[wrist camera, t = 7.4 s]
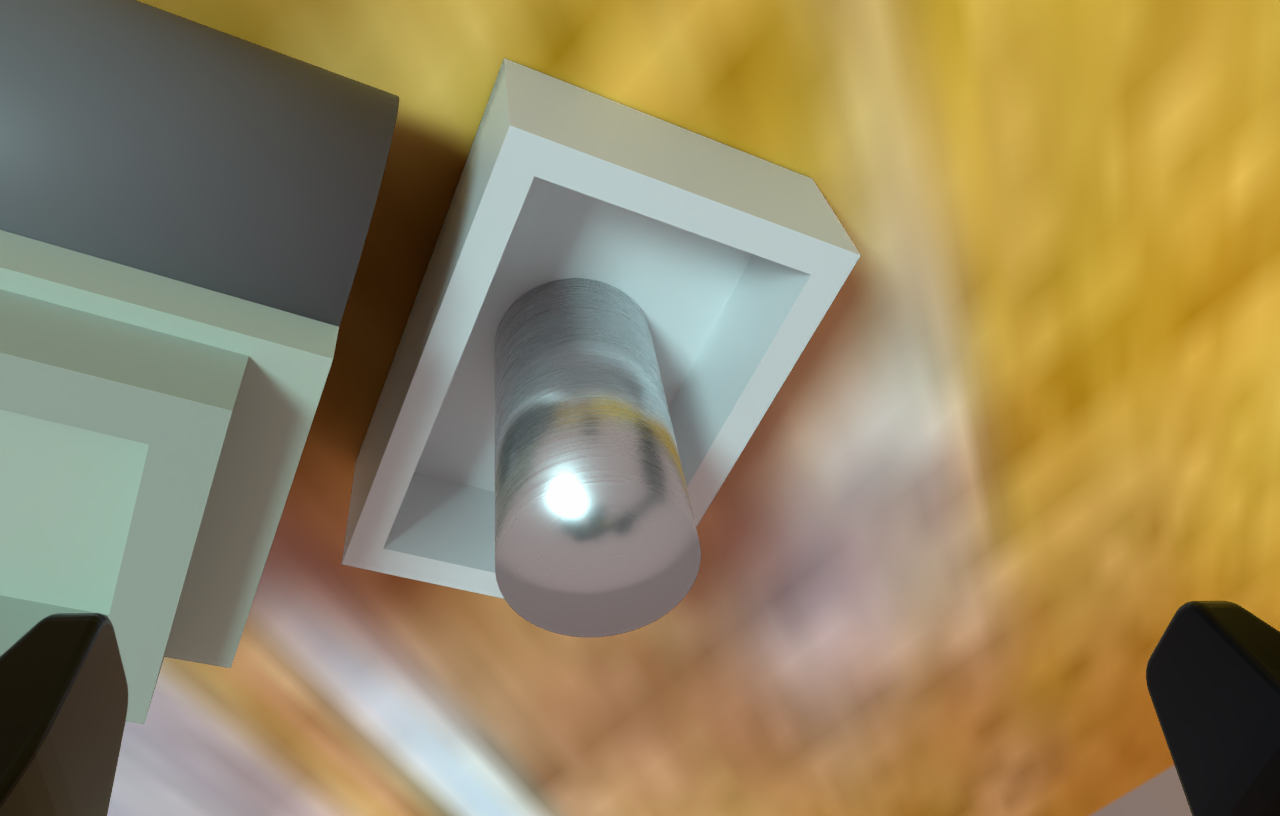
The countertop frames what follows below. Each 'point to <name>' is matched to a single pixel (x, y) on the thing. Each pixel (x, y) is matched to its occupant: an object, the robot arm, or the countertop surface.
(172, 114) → the grey-green hollow stepped block
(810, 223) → the tray
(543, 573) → the pin
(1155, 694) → the robot arm
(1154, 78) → the countertop surface
